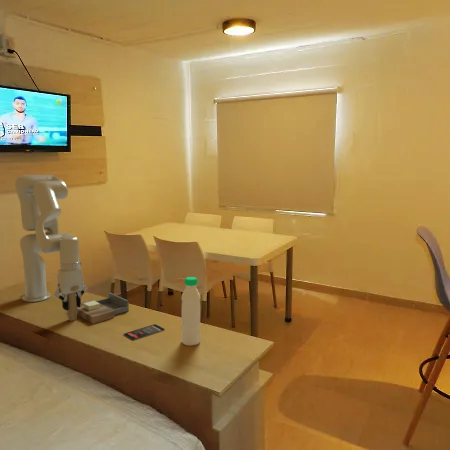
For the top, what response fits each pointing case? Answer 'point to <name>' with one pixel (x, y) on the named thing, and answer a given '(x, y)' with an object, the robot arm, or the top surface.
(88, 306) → the tile
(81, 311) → the board
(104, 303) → the box
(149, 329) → the smartphone
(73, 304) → the handle
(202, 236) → the top surface
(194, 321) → the water bottle
